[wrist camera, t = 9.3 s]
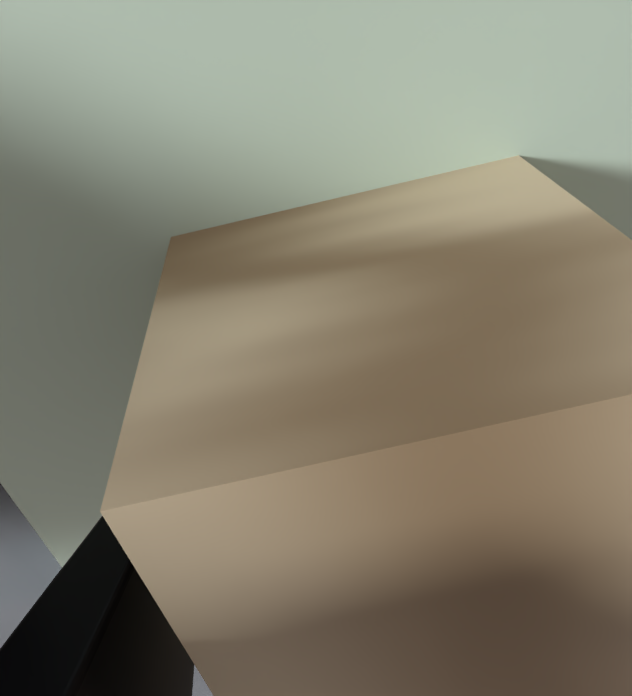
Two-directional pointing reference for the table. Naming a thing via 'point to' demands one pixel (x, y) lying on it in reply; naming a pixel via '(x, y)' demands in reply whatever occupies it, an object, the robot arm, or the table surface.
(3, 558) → the table surface
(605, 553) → the birch cube
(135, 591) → the robot arm
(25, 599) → the table surface
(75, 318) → the green pad
